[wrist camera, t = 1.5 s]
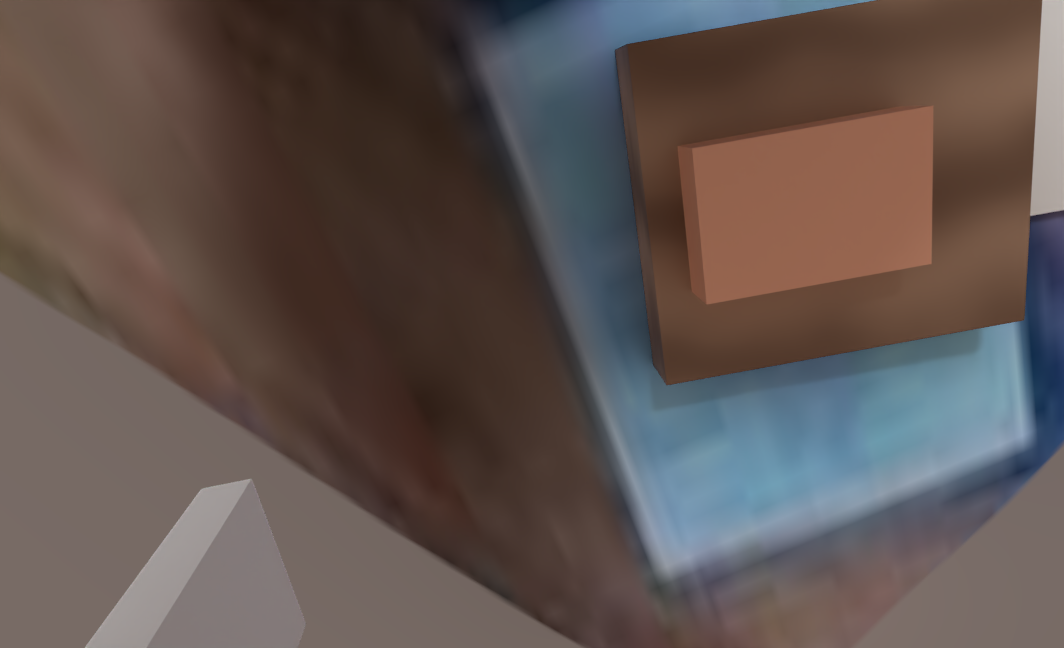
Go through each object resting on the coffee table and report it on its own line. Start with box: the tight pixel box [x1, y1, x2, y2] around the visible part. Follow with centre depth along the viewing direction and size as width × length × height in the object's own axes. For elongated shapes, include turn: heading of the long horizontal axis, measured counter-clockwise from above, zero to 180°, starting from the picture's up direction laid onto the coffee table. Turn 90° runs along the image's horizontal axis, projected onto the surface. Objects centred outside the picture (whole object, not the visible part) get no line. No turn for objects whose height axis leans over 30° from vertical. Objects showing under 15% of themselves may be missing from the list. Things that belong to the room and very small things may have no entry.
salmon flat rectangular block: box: [677, 105, 934, 304], centre depth 27 cm, size 9×6×2 cm, turn 100°
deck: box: [615, 0, 1042, 385], centre depth 29 cm, size 14×16×2 cm
